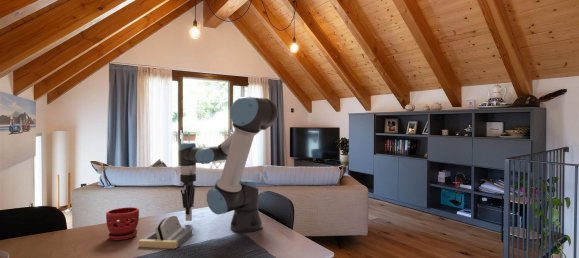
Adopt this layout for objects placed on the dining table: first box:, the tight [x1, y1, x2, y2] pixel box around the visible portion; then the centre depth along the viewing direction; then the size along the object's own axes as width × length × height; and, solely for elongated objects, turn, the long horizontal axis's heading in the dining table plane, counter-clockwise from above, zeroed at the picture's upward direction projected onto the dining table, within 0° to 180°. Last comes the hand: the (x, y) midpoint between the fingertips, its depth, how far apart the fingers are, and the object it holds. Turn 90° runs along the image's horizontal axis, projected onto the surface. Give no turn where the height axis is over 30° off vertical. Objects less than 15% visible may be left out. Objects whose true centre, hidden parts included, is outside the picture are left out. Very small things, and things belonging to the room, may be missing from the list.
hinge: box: [154, 215, 186, 240], centre depth 142 cm, size 17×5×10 cm, turn 177°
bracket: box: [138, 228, 193, 249], centre depth 138 cm, size 16×16×2 cm
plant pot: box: [105, 206, 140, 241], centre depth 144 cm, size 13×13×12 cm
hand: (188, 220), depth 160 cm, fingers closed
